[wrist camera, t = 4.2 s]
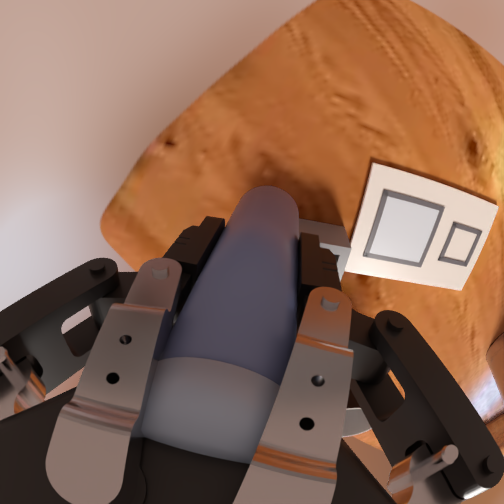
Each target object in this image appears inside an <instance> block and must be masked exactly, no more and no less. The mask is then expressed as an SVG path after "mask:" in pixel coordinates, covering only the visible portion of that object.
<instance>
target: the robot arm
mask: <svg viewBox="0 0 504 504" xmlns="http://www.w3.org/2000/svg"><path fill="white" fill-rule="evenodd" d="M224 228H225V219H222V218H216V217H210V216H206V218H205V219H204V220H203V222H202V223H201V224H200V226H191V227H189V228H187V229H185V230H183V232H182V233H181V234H180V235H179V238H177V239H176V241H175V243H173V244H172V246H171V247H170V248H169V249H168V251H167V252H166V253H165V255H164V256H163V257H162V258H155V259H151V260H149V261H147V262H145V263H144V264H143V265H142V266H141V267H140V269H139V272H118V267H117V264H116V262H115V261H113V260H112V259H108V258H96V259H93V260H90V261H88V262H86V263H84V264H82V265H80V266H78V267H77V268H75V269H73V270H71V271H69V272H67V273H65V274H64V275H62V276H60V277H58V278H56V279H55V280H53V281H51V282H50V283H48V284H46V285H44V286H42V287H41V288H39V289H37V290H35V291H34V292H32V293H30V294H29V295H27V296H25V297H23V298H22V299H20V300H18V301H17V302H15V303H14V304H12V305H10V306H9V307H7V308H6V309H4V310H2V311H1V312H0V504H460V503H461V502H462V501H465V500H467V499H469V498H471V497H474V496H476V495H478V494H480V493H482V492H484V491H486V490H488V489H490V488H492V487H494V486H495V485H496V484H498V482H499V481H500V480H501V478H502V476H503V473H504V456H503V454H502V452H501V450H500V448H499V446H498V445H497V443H496V441H495V440H494V438H493V436H492V435H491V433H490V431H489V430H488V428H487V427H486V425H485V423H484V422H483V420H482V419H481V417H480V416H479V414H478V413H477V411H476V410H475V408H474V407H473V405H472V404H471V402H470V401H469V399H468V398H467V396H466V395H465V393H464V392H463V390H462V389H461V388H460V386H459V385H458V383H457V382H456V381H455V379H454V378H453V376H452V375H451V374H450V372H449V371H448V370H447V368H446V367H445V366H444V364H443V363H442V362H441V360H440V359H439V358H438V356H437V355H436V354H435V352H434V351H433V350H432V348H431V347H430V346H429V345H428V343H427V342H426V341H425V340H424V338H423V337H422V336H421V335H420V333H419V332H418V331H417V330H416V328H415V327H414V326H413V325H412V323H411V322H410V321H409V320H408V319H407V318H406V317H405V316H403V315H402V314H400V313H398V312H395V311H390V310H385V311H381V312H379V313H378V314H377V315H376V317H375V319H373V318H371V317H368V316H365V315H363V314H360V313H358V312H356V311H355V310H353V309H352V303H351V301H350V299H349V298H348V296H347V295H346V294H344V293H343V292H342V290H341V284H340V278H339V273H338V268H337V262H336V257H335V255H334V254H333V253H332V252H331V251H330V249H327V248H322V247H320V242H319V235H316V234H310V233H305V232H301V233H300V236H299V241H298V290H297V328H296V340H295V343H294V346H293V349H292V352H291V355H290V358H289V361H288V364H287V367H286V370H285V373H284V376H283V379H282V382H281V385H280V388H279V391H278V394H277V396H276V399H275V402H274V405H273V407H272V410H271V413H270V415H269V418H268V421H267V423H266V426H265V429H264V431H263V434H262V436H261V439H260V441H259V444H258V446H257V449H256V451H255V453H254V456H253V458H252V460H251V463H250V464H247V463H241V462H236V461H230V460H225V459H220V458H216V457H211V456H207V455H203V454H198V453H195V452H191V451H187V450H183V449H180V448H176V447H173V446H170V445H167V444H164V443H160V442H157V441H154V440H152V439H149V438H146V437H144V434H143V433H142V431H141V428H142V423H143V419H144V415H145V410H146V406H147V402H148V398H149V394H150V390H151V387H152V383H153V379H154V376H155V372H156V368H157V365H158V361H159V358H160V355H161V353H162V352H164V350H165V347H166V344H167V341H168V338H169V336H170V333H171V331H172V328H173V326H174V324H175V322H176V320H177V318H178V316H179V314H180V312H181V310H182V308H183V306H184V304H185V302H186V300H187V298H188V296H189V294H190V293H191V291H192V289H193V287H194V285H195V283H196V281H197V279H198V277H199V275H200V273H201V271H202V269H203V268H204V266H205V264H206V262H207V260H208V258H209V256H210V254H211V252H212V251H213V249H214V247H215V245H216V243H217V241H218V239H219V238H220V236H221V234H222V232H223V230H224ZM87 306H89V309H90V312H91V315H92V316H90V317H89V318H87V319H86V320H84V321H83V322H81V323H80V324H78V325H76V326H75V327H73V328H72V329H70V330H69V331H68V332H66V333H65V334H62V332H61V327H62V324H63V322H64V321H65V320H66V319H68V318H69V317H71V316H72V315H74V314H76V313H77V312H78V311H80V310H82V309H83V308H85V307H87ZM486 360H487V362H488V364H489V367H490V369H491V372H492V374H493V377H494V379H495V382H496V384H497V387H498V390H499V392H500V395H501V398H502V401H503V404H504V333H503V334H502V335H501V336H499V337H498V338H497V339H496V340H495V342H494V343H493V344H492V345H491V347H490V348H489V350H488V352H487V355H486ZM84 366H85V367H84ZM83 367H84V370H83V372H82V375H81V377H80V380H79V383H78V386H77V387H75V388H73V389H70V390H68V391H66V392H64V393H62V394H60V395H57V396H55V397H53V398H51V399H48V400H46V401H45V400H44V399H45V395H46V394H47V393H49V392H50V391H51V390H53V389H54V388H56V387H57V386H58V385H60V384H61V383H63V382H64V381H65V380H67V379H68V378H69V377H71V376H72V375H73V374H75V373H76V372H77V371H79V370H80V369H82V368H83ZM390 369H391V371H392V372H393V374H394V375H395V377H396V378H397V380H398V381H399V383H400V384H401V386H402V388H403V389H404V392H405V400H404V398H403V397H402V395H401V393H400V392H399V390H398V389H397V387H396V386H395V384H394V382H393V381H392V379H391V378H390V376H389V375H388V372H389V371H390ZM349 389H351V391H352V393H353V395H354V397H355V398H356V400H357V402H358V404H359V406H360V408H361V410H362V411H363V413H364V415H365V417H366V419H367V421H368V423H369V424H370V426H371V428H372V430H373V432H374V434H375V436H376V438H377V439H378V441H379V443H380V445H381V447H382V449H383V451H384V453H385V455H386V456H387V458H388V460H389V462H390V464H391V466H392V470H391V471H390V475H389V481H388V483H387V488H388V490H389V491H390V492H392V497H391V496H390V495H389V494H388V493H387V492H386V490H385V489H384V488H383V487H382V486H381V485H380V483H379V482H378V481H377V480H376V479H375V478H374V476H373V475H372V474H371V473H370V472H369V470H368V469H367V468H366V467H365V466H364V464H363V463H362V462H361V461H360V459H359V458H358V457H357V456H356V455H355V453H354V452H353V451H352V450H351V449H350V447H349V446H348V445H347V444H346V442H345V441H344V440H343V439H342V432H343V426H344V421H345V415H346V409H347V403H348V396H349Z"/></svg>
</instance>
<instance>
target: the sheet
mask: <svg viewBox="0 0 504 504" xmlns="http://www.w3.org/2000/svg"><path fill="white" fill-rule="evenodd" d="M498 208H499V206H497V205H495V204H493V203H491V202H488V201H486V200H484V199H481V198H479V197H476V196H474V195H472V194H469V193H466V192H464V191H461V190H459V189H456V188H453V187H451V186H448V185H445V184H442V183H440V182H437V181H434V180H431V179H428V178H425V177H422V176H419V175H415V174H412V173H409V172H406V171H402V170H399V169H396V168H392V167H389V166H385V165H381V164H378V163H374V162H372V165H371V169H370V173H369V177H368V181H367V185H366V189H365V193H364V197H363V200H362V204H361V208H360V211H359V215H358V218H357V222H356V225H355V228H354V232H353V235H352V238H351V241H350V245H351V248H352V249H351V252H350V255H349V258H348V261H347V264H346V267H345V270H344V271H346V272H352V273H358V274H364V275H370V276H376V277H382V278H388V279H394V280H400V281H406V282H412V283H418V284H424V285H430V286H436V287H443V288H449V289H455V290H462V288H463V286H464V284H465V282H466V280H467V279H468V277H469V275H470V273H471V271H472V269H473V267H474V265H475V263H476V261H477V259H478V256H479V254H480V252H481V250H482V248H483V245H484V243H485V241H486V238H487V236H488V234H489V231H490V229H491V226H492V224H493V221H494V219H495V216H496V213H497V210H498Z"/></svg>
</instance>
